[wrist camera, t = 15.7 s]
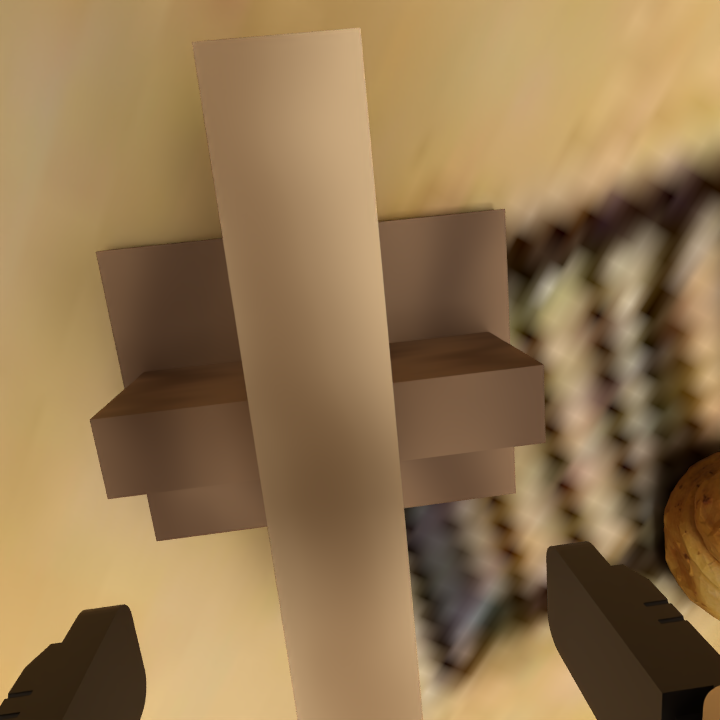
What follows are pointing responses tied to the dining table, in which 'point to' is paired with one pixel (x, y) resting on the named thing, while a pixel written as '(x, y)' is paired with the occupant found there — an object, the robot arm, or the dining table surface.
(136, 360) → the stand
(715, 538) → the bread roll
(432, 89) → the dining table surface
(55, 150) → the dining table surface
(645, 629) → the robot arm
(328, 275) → the oak bar
